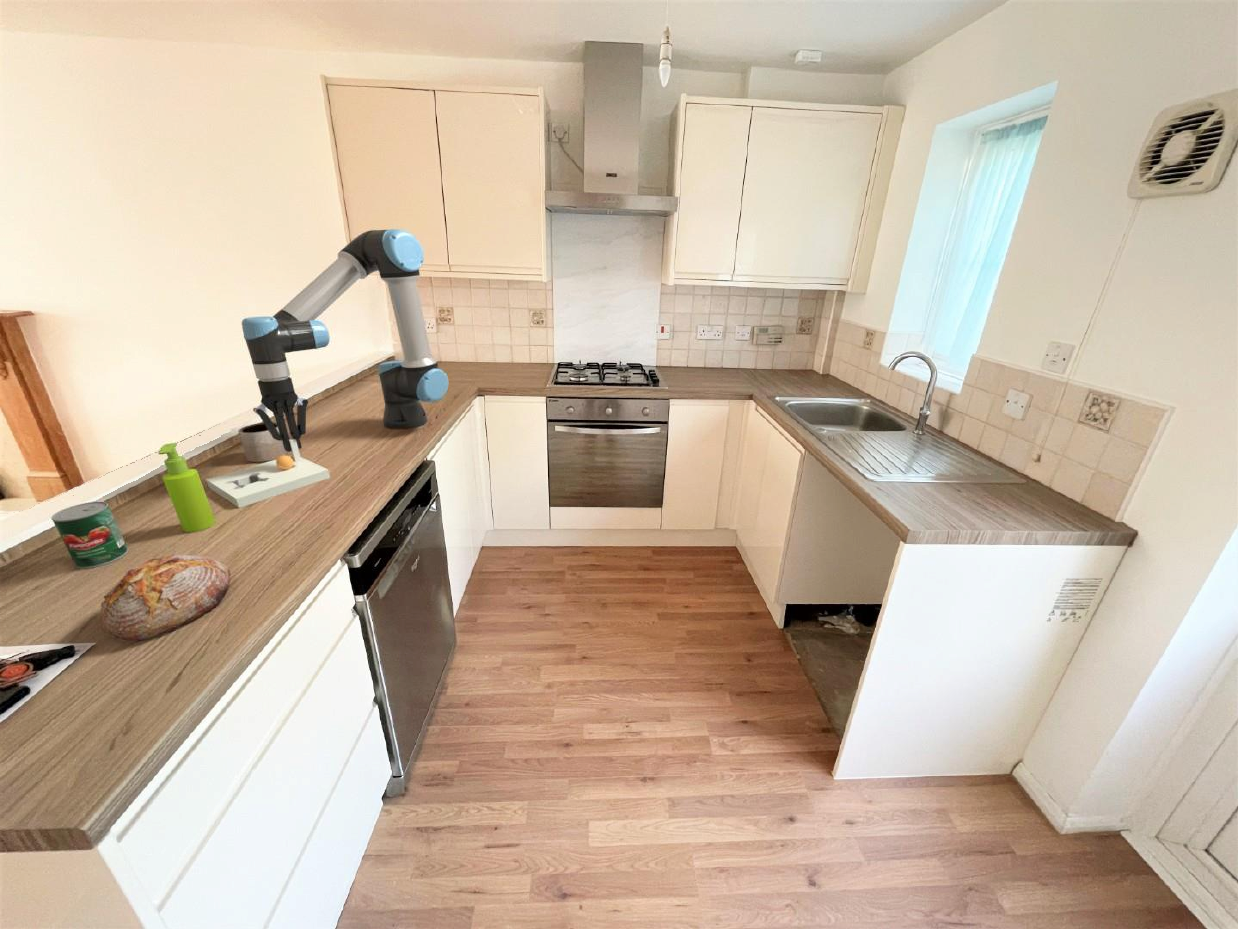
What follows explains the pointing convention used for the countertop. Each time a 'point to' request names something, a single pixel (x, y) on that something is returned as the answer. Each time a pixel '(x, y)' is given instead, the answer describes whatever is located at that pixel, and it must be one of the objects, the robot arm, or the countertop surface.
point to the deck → (265, 481)
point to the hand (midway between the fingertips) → (296, 460)
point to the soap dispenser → (186, 492)
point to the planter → (260, 443)
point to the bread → (163, 595)
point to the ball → (284, 462)
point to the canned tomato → (90, 534)
